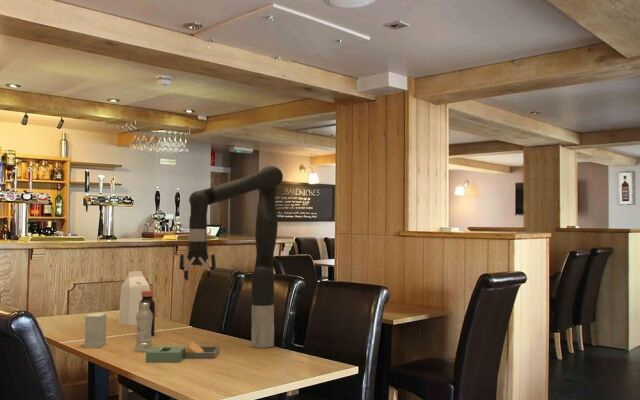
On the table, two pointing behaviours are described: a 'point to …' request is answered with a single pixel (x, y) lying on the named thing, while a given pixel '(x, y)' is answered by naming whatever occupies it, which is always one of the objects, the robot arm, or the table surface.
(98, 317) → the small box
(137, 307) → the milk
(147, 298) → the vinegar
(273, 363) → the table surface
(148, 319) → the plastic bottle
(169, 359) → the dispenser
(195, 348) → the tan wooden plank
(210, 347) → the tray
